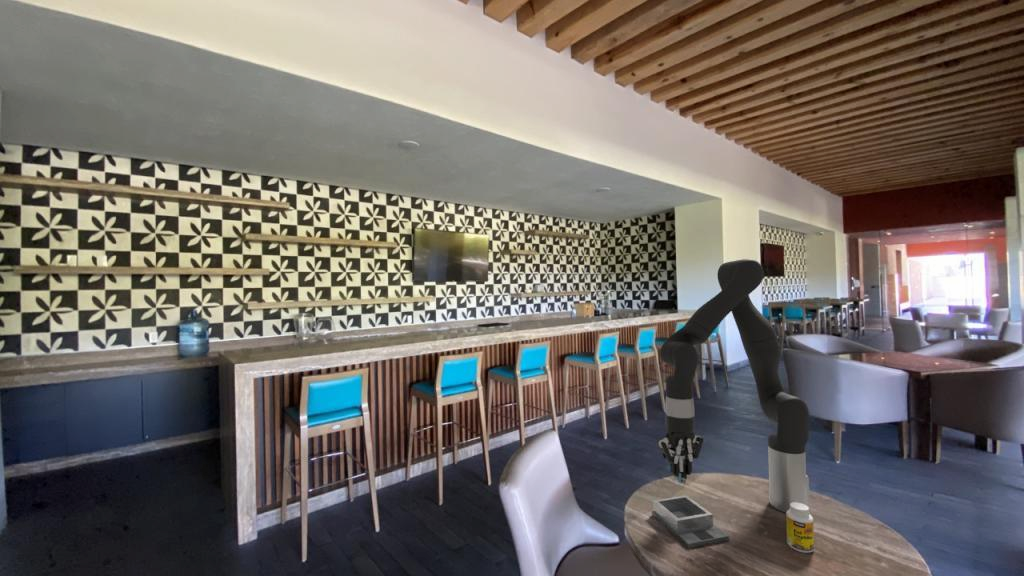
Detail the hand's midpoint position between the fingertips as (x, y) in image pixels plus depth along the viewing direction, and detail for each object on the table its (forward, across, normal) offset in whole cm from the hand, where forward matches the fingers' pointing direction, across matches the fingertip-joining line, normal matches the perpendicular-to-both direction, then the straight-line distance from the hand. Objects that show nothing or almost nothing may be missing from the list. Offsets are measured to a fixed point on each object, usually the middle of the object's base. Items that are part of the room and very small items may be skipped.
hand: (681, 474), depth 114 cm
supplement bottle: (+13, -21, +18) cm, 30 cm away
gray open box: (+13, 0, +3) cm, 14 cm away
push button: (+2, 0, 0) cm, 2 cm away
